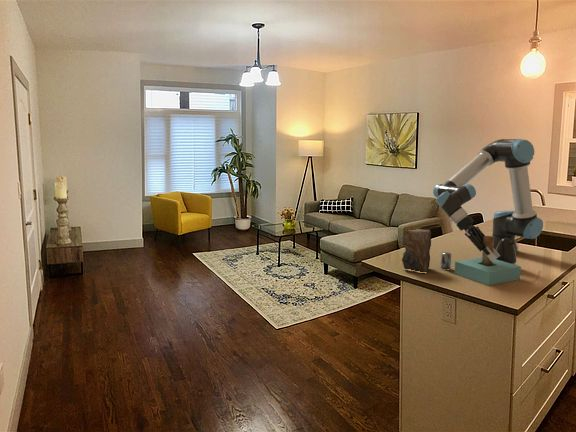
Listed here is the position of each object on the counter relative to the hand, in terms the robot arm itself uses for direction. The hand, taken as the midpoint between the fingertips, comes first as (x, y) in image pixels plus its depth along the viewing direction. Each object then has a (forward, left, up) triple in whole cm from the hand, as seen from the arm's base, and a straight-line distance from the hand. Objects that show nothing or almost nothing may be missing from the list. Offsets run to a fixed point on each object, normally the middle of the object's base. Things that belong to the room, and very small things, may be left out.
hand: (496, 258), depth 209 cm
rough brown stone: (+23, -25, -9) cm, 36 cm away
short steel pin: (+9, -21, -9) cm, 25 cm away
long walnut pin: (+2, -4, -6) cm, 7 cm away
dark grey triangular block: (-18, -9, -9) cm, 22 cm away
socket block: (+1, -3, -9) cm, 10 cm away
